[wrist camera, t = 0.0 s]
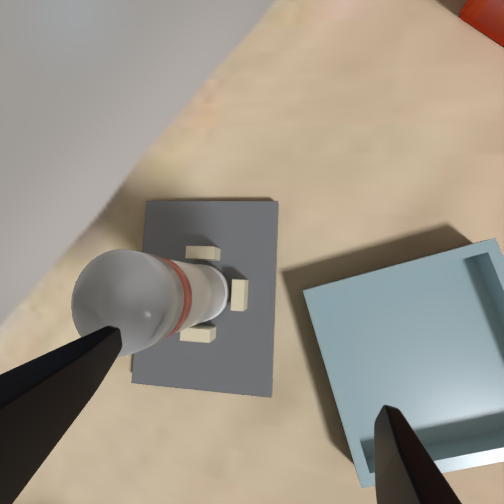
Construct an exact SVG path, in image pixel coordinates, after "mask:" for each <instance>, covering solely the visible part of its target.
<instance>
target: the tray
mask: <svg viewBox="0 0 504 504" xmlns="http://www.w3.org/2000/svg"><path fill="white" fill-rule="evenodd" d="M302 292H303V295H304V298H305V302H306V305H307V309H308V312H309V315H310V319H311V322H312V325H313V329H314V332H315V335H316V339H317V342H318V345H319V349H320V352H321V356H322V359H323V362H324V366H325V369H326V372H327V376H328V379H329V382H330V386H331V389H332V392H333V396H334V399H335V402H336V406H337V409H338V413H339V416H340V419H341V423H342V426H343V429H344V433H345V436H346V439H347V443H348V446H349V449H350V453H351V456H352V460H353V463H354V466H355V469H356V472H357V475H358V478H359V481H360V484H361V487H362V488H365V487H371V486H375V457H374V423H375V420H376V418H377V416H378V414H379V412H380V410H381V408H382V407H383V405H389V406H393V407H396V408H398V409H399V410H400V411H401V412H402V414H403V415H404V417H405V418H406V420H407V421H408V423H409V424H410V426H411V427H412V429H413V430H414V432H415V433H416V435H417V436H418V438H419V439H420V441H421V443H422V444H423V446H424V447H425V449H426V450H427V452H428V453H429V455H430V456H431V458H432V459H433V461H434V462H435V464H436V465H437V467H438V468H439V470H440V471H441V473H444V472H449V471H455V470H460V469H465V468H470V467H476V466H481V465H486V464H491V463H497V462H502V461H504V257H503V255H502V252H501V250H500V248H499V245H498V243H497V240H496V238H494V239H489V240H485V241H480V242H476V243H472V244H468V245H464V246H461V247H457V248H453V249H450V250H446V251H442V252H439V253H435V254H431V255H428V256H424V257H420V258H417V259H413V260H409V261H406V262H402V263H398V264H395V265H391V266H387V267H384V268H380V269H377V270H373V271H369V272H366V273H362V274H358V275H355V276H351V277H347V278H344V279H340V280H336V281H333V282H329V283H325V284H322V285H318V286H314V287H311V288H307V289H303V290H302Z"/></svg>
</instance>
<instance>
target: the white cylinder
mask: <svg viewBox="0 0 504 504" xmlns="http://www.w3.org/2000/svg"><path fill="white" fill-rule="evenodd" d="M230 296H231V288H230V284H229V281H228V279H227V277H226V276H225V275H224V273H223V272H221V271H220V270H219V269H217V268H215V267H212V266H208V265H202V264H190V263H185V262H180V261H174V260H169V259H166V258H163V257H158V256H155V255H152V254H148V253H143V252H138V251H133V250H128V249H118V250H112V251H108V252H106V253H103V254H101V255H99V256H98V257H96V258H95V259H93V260H92V261H91V262H90V263H89V264H88V265H87V266H86V267H85V268H84V269H83V271H82V272H81V274H80V275H79V277H78V279H77V281H76V284H75V286H74V290H73V294H72V301H71V309H72V316H73V321H74V324H75V326H76V329H77V331H78V333H79V334H80V336H81V337H83V336H86V335H88V334H90V333H92V332H94V331H96V330H99V329H101V328H103V327H105V326H108V325H110V326H114V327H118V328H119V329H120V331H121V337H122V349H121V351H120V353H119V355H118V356H126V355H131V354H134V353H136V352H139V351H141V350H143V349H145V348H148V347H150V346H152V345H154V344H156V343H158V342H160V341H162V340H163V339H165V338H168V337H169V336H171V335H173V334H175V333H177V332H179V331H182V330H184V329H186V328H189V327H191V326H193V325H196V324H198V323H200V322H205V321H208V320H210V319H213V318H215V317H217V316H218V315H220V314H221V313H222V312H223V311H224V310H225V309H226V307H227V306H228V303H229V301H230Z"/></svg>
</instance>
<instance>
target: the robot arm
mask: <svg viewBox="0 0 504 504" xmlns="http://www.w3.org/2000/svg"><path fill="white" fill-rule="evenodd" d="M121 349H122V337H121V331H120V329H119V328H118V327H114V326H110V325H108V326H105V327H103V328H101V329H99V330H96V331H94V332H92V333H90V334H88V335H86V336H83V337H81V338H79V339H77V340H75V341H73V342H70V343H68V344H66V345H64V346H62V347H60V348H57V349H55V350H53V351H51V352H49V353H46V354H44V355H42V356H40V357H38V358H36V359H33V360H31V361H29V362H27V363H25V364H23V365H20V366H18V367H16V368H14V369H12V370H10V371H7V372H5V373H3V374H1V375H0V504H12V503H13V502H14V501H15V499H16V498H17V497H18V495H19V494H20V493H21V491H22V490H23V489H24V487H25V486H26V485H27V483H28V482H29V481H30V479H31V478H32V477H33V475H34V474H35V473H36V471H37V470H38V469H39V467H40V466H41V464H42V463H43V462H44V460H45V459H46V458H47V456H48V455H49V454H50V452H51V451H52V450H53V448H54V447H55V446H56V444H57V443H58V442H59V440H60V439H61V438H62V436H63V435H64V434H65V432H66V431H67V430H68V428H69V427H70V426H71V424H72V423H73V422H74V420H75V419H76V418H77V416H78V415H79V413H80V412H81V411H82V409H83V408H84V407H85V405H86V404H87V403H88V401H89V400H90V399H91V397H92V396H93V395H94V393H95V392H96V390H97V389H98V387H99V386H100V384H101V382H102V381H103V379H104V378H105V376H106V374H107V373H108V371H109V369H110V368H111V366H112V364H113V363H114V361H115V359H116V358H117V356H118V355H119V353H120V351H121ZM374 457H375V487H376V497H377V504H462V503H461V502H460V500H459V499H458V497H457V496H456V494H455V493H454V491H453V490H452V488H451V487H450V485H449V483H448V482H447V480H446V479H445V477H444V476H443V474H442V473H441V471H440V470H439V468H438V467H437V465H436V464H435V462H434V461H433V459H432V458H431V456H430V455H429V453H428V452H427V450H426V449H425V447H424V446H423V444H422V443H421V441H420V439H419V438H418V436H417V435H416V433H415V432H414V430H413V429H412V427H411V426H410V424H409V423H408V421H407V420H406V418H405V417H404V415H403V414H402V412H401V411H400V410H399V409H398V408H396V407H393V406H389V405H383V407H382V408H381V410H380V412H379V414H378V416H377V418H376V420H375V423H374Z"/></svg>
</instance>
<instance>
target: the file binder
mask: <svg viewBox="0 0 504 504" xmlns="http://www.w3.org/2000/svg"><path fill="white" fill-rule="evenodd" d="M460 14H461V16H460V17H459V18H460V19H462V20H464V21H465V22H467V23H468V24H470V25H471V26H473V27H474V28H476V29H477V30H479V31H480V32H482V33H483V34H485V35H486V36H488V37H489V38H491V39H493V40H494V41H496V42H497V43H499V44H500V45H502V46H503V47H504V0H468V1H467V2H466V4H465V6H464V7H463V9H462V11H461V12H460Z"/></svg>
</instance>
